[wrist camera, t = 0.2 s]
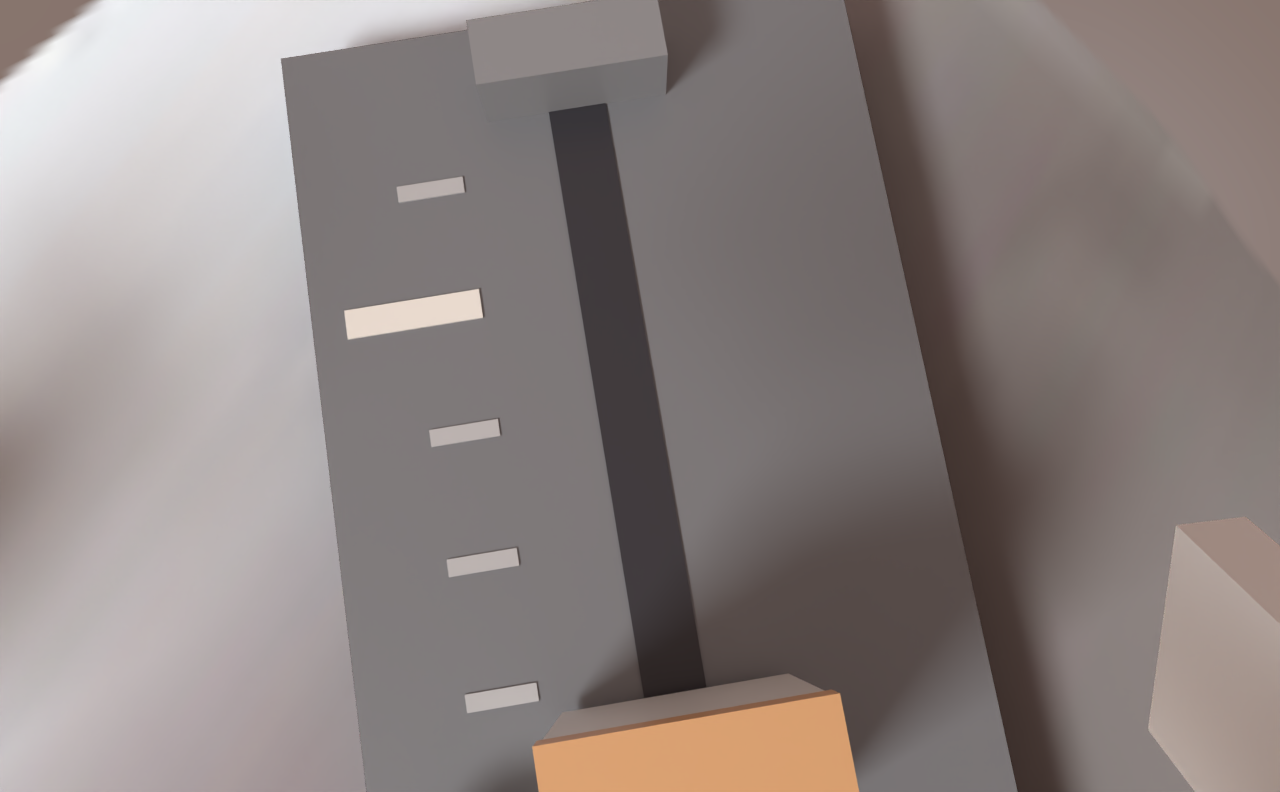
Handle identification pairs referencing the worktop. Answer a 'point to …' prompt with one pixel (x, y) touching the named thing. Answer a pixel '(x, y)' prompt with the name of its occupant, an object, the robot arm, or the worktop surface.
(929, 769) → the console
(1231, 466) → the worktop surface
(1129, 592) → the worktop surface
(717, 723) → the fader
